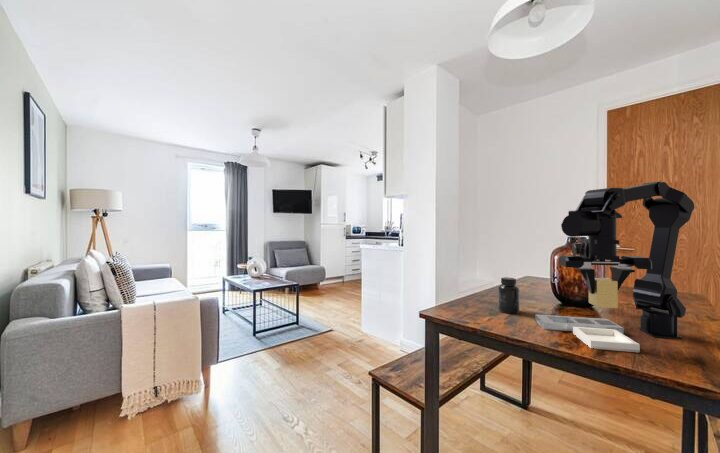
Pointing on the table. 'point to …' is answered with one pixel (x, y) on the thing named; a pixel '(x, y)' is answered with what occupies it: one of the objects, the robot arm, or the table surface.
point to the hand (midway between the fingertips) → (602, 293)
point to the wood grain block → (604, 293)
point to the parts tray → (606, 339)
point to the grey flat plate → (574, 323)
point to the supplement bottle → (508, 296)
